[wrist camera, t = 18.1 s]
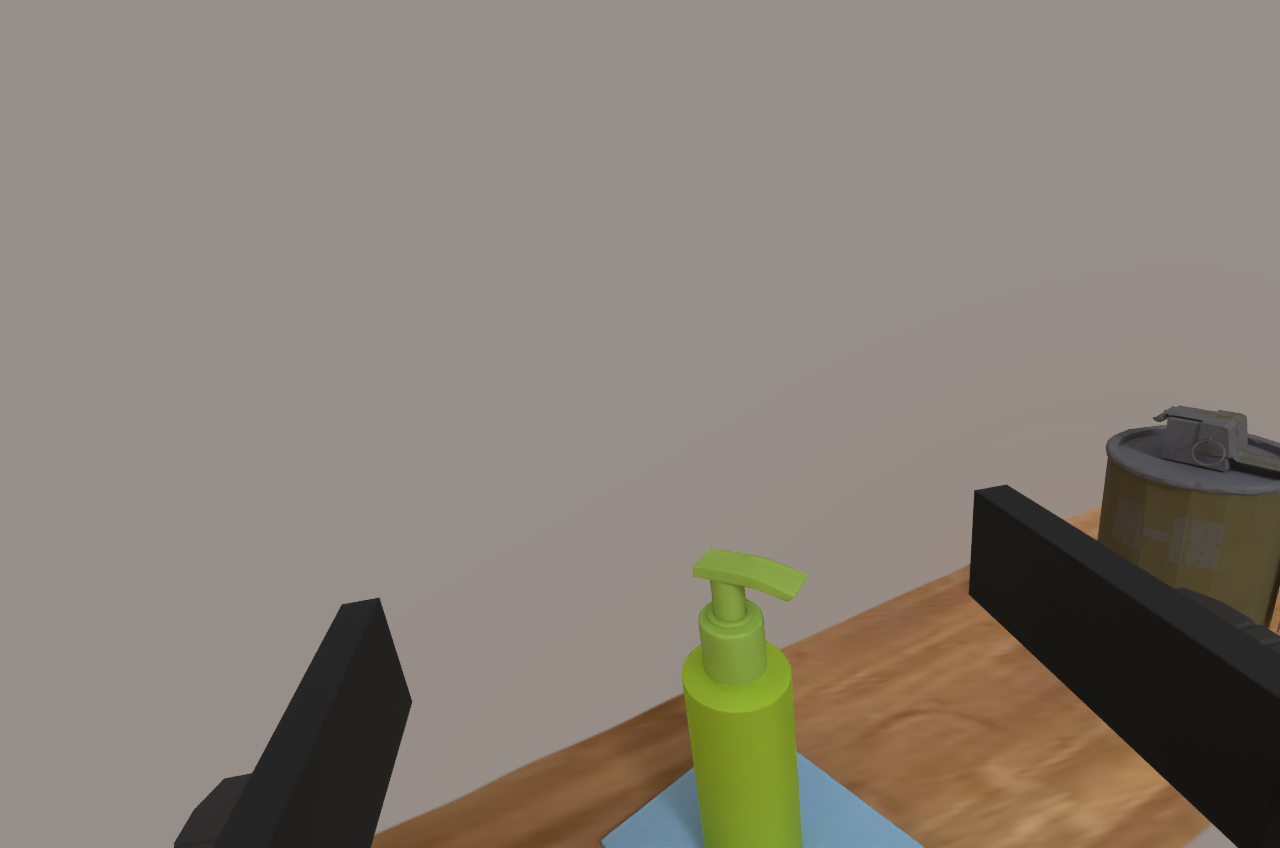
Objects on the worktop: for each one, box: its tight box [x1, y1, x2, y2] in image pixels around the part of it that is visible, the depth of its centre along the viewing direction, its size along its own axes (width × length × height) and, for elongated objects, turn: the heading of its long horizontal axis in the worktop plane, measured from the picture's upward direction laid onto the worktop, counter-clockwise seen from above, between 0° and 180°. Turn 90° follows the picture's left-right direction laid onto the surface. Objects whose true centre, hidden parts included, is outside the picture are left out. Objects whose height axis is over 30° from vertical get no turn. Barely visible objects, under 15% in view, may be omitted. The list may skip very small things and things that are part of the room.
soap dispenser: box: [682, 549, 808, 848], centre depth 35 cm, size 6×7×20 cm
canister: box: [1098, 406, 1280, 632], centre depth 45 cm, size 11×10×20 cm
